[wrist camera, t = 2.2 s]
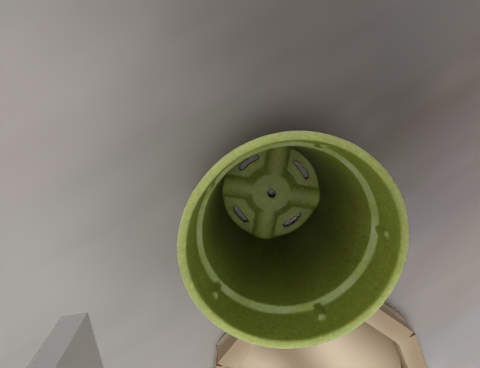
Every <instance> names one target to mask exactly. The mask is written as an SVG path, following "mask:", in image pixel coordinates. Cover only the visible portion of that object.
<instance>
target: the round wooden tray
mask: <svg viewBox="0 0 480 368" xmlns="http://www.w3.org/2000/svg"><path fill="white" fill-rule="evenodd" d="M214 368H427V365H426V362H425V360H424V357H423V354H422V351H421V349H420V346H419V343H418V340H417V337H416V335H415V334H414V332H413V331H412V330H411V328H410V327H409V326H408V324H407V323H406V322H405V320H404V319H403V318H402V316H401V315H400V314H399V313H398V312H396V311H395V310H393V309H392V308H390V307H389V306H387V305H386V304H383V305H382V306H381V307H380V308H379V309H378V310H377V311H376V312H375V313H374V314H373V315H372V316H371V317H370V318H368V319H367V320H366V321H365V322H363V323H362V324H361V325H359V326H358V327H357V328H355V329H354V330H352V331H351V332H349V333H347V334H345V335H343V336H341V337H339V338H336V339H334V340H331V341H329V342H326V343H323V344H319V345H316V346H310V347H304V348H293V349H278V348H269V347H264V346H259V345H256V344H251V343H248V342H245V341H243V340H241V339H238V338H236V337H234V336H232V335H230V334H228V333H227V332H226V333H225V335H224V336H223V337H222V338H221V339H220V341H219V342H218V345H217V348H216V356H215V365H214Z"/></svg>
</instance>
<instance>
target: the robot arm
mask: <svg viewBox="0 0 480 368" xmlns="http://www.w3.org/2000/svg"><path fill="white" fill-rule="evenodd" d="M27 368H103V364H102V361H101V357H100V354H99V350H98V347H97V343H96V340H95V336H94V333H93V330H92V326H91V323H90V319H89V316H88V313H83V314H77V315H70V316H64V317H61V319H60V320H59V322H58V323H57V324H56V326H55V327H54V329H53V330H52V332H51V333H50V335H49V336H48V337H47V339H46V340H45V342H44V343H43V345H42V346H41V348H40V349H39V351H38V352H37V353H36V355H35V356H34V358H33V359H32V361H31V362H30V364H29V365H28V366H27Z"/></svg>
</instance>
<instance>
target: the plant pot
mask: <svg viewBox="0 0 480 368" xmlns="http://www.w3.org/2000/svg"><path fill="white" fill-rule="evenodd" d="M254 155H257V156H258V157H259V158H258V160H256V161H254V162H252V163H251V164H249V165H248V166H246V168H245V169H244V170H240V169H239V168H240V165H241V163H242V162H244V161H246V160H247V159H248V158H250V157H251V156H254ZM294 161H299V162H300V164H301V165H302V166H303V167H304V168H305V169H306V170H307V172H308V175H309V177H308V179H304V177H303V175H302V173H301V172H300V170H299V169H298V168H297V166H295V165H294ZM271 189H272V190H274V191H275V196H274V197H269V196H268V193H267V192H268V191H269V190H271ZM236 205H237V206H238V207H239V209H240V210H241V212H242V214H243V215H244V216H245V217H246V218H247V219H248V220H249V222H243V221H242V220H241V219H240V218H239V216H238V215H237V214H236V213H235V211H234V207H235V206H236ZM298 213H301V214H300V217H299V218H298V219H297V221H296V222H294V223H293V224H291V225H289V226H285V227H284V226H283V223H284V222H286V221H288V220H289V219H291V218H293V217H294V216H295V215H297V214H298ZM408 248H409V221H408V215H407V209H406V205H405V202H404V200H403V197H402V195H401V192H400V190H399V189H398V187H397V185H396V183H395V182H394V180H393V179H392V177H391V176H390V174H389V173H388V171H387V170H386V169H385V168H384V167H383V166H382V165H381V164H380V163H379V162H378V161H377V160H376V159H375V158H374V157H373V156H372V155H370V154H369V153H368V152H366V151H365V150H363V149H362V148H360V147H359V146H357V145H355V144H353V143H351V142H349V141H347V140H344V139H342V138H339V137H336V136H333V135H330V134H326V133H320V132H314V131H300V130H298V131H283V132H277V133H272V134H268V135H265V136H261V137H258V138H256V139H253V140H251V141H248V142H246V143H244V144H242V145H240V146H239V147H237V148H235V149H233V150H232V151H230V152H229V153H228V154H226V155H225V156H223V157H222V158H221V159H220V160H219V161H218V162H216V163H215V164H214V165H213V166H212V167H211V168H210V169H209V171H208V172H207V173H206V174H205V175H204V176H203V178H202V179H201V180H200V182H199V183H198V184H197V186H196V187H195V189H194V190H193V192H192V194H191V195H190V197H189V199H188V201H187V203H186V206H185V208H184V211H183V214H182V217H181V220H180V225H179V229H178V236H177V259H178V266H179V270H180V274H181V277H182V280H183V283H184V285H185V287H186V290H187V292H188V294H189V295H190V297H191V299H192V300H193V302H194V303H195V305H196V306H197V307H198V308H199V309H200V310H201V312H202V313H203V314H204V315H205V316H206V317H207V318H208V319H209V320H210V321H211V322H212V323H213V324H215V325H216V326H217V327H219V328H220V329H222V330H223V331H225V332H227V333H228V334H230V335H232V336H234V337H236V338H238V339H241V340H243V341H245V342H248V343H251V344H256V345H259V346H264V347H269V348H278V349H293V348H304V347H310V346H316V345H319V344H323V343H326V342H329V341H331V340H334V339H336V338H339V337H341V336H343V335H345V334H347V333H349V332H351V331H352V330H354V329H355V328H357V327H358V326H359V325H361V324H362V323H363V322H365V321H366V320H367V319H368V318H370V317H371V316H372V315H373V314H374V313H375V312H376V311H377V310H378V309H379V308H380V307H381V306H382V305H383V304H384V302H385V300H386V299H387V298H388V297H389V295H390V294H391V292H392V291H393V290H394V288H395V286H396V284H397V282H398V281H399V278H400V276H401V274H402V271H403V269H404V266H405V262H406V258H407V254H408Z"/></svg>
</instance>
